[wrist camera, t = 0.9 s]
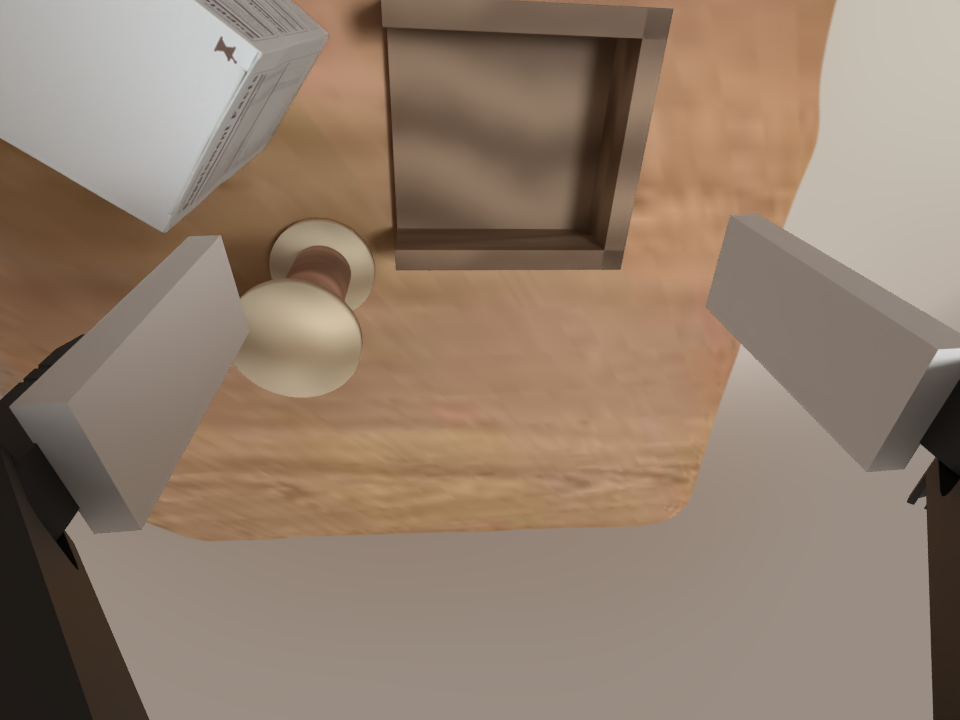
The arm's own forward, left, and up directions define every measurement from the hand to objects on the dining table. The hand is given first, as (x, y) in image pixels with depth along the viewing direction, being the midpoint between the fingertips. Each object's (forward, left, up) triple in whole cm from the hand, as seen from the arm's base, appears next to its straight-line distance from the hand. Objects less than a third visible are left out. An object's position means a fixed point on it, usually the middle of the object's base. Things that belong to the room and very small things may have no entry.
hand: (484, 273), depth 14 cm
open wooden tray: (+1, +4, -27) cm, 27 cm away
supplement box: (-4, -14, -27) cm, 31 cm away
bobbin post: (+11, -10, -27) cm, 31 cm away
